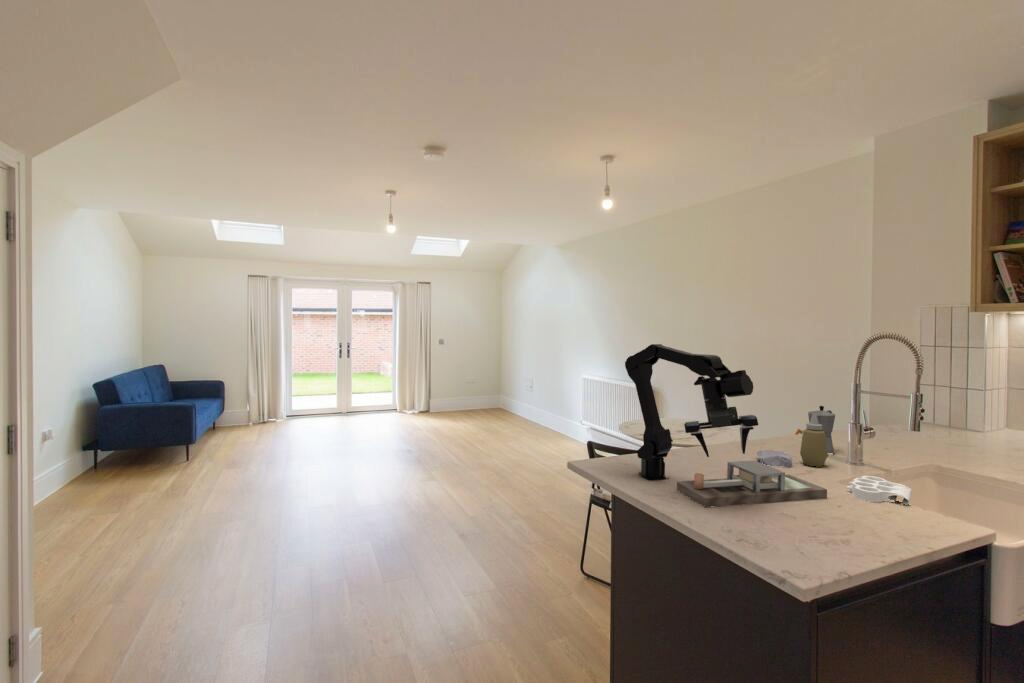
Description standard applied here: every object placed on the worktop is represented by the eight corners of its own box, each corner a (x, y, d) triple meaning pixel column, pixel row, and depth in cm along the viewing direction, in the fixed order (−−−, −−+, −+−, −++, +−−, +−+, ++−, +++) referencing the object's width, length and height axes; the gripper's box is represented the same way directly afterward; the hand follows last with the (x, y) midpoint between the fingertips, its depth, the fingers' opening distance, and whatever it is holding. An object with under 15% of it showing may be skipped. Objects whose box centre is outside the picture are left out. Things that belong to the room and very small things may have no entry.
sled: (703, 493, 130) (704, 479, 130) (686, 483, 139) (687, 470, 139) (778, 487, 135) (778, 474, 135) (757, 478, 143) (757, 466, 143)
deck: (704, 507, 128) (705, 498, 127) (676, 489, 141) (676, 481, 141) (826, 498, 135) (827, 489, 135) (788, 482, 149) (789, 474, 149)
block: (752, 489, 135) (753, 474, 135) (738, 482, 141) (739, 468, 141) (771, 487, 136) (771, 473, 136) (756, 481, 142) (757, 467, 142)
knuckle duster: (907, 511, 127) (841, 497, 137) (912, 494, 140) (851, 483, 150) (908, 498, 127) (841, 486, 137) (912, 483, 140) (851, 472, 150)
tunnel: (756, 493, 131) (756, 474, 131) (727, 479, 144) (727, 461, 143) (784, 491, 133) (785, 472, 133) (753, 477, 145) (754, 460, 145)
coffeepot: (826, 457, 178) (827, 409, 177) (799, 452, 186) (800, 405, 185) (843, 451, 187) (845, 405, 186) (817, 446, 195) (818, 402, 194)
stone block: (764, 471, 166) (795, 468, 164) (761, 458, 167) (792, 454, 165) (754, 463, 178) (783, 459, 176) (752, 450, 178) (781, 446, 176)
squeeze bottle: (826, 464, 169) (828, 413, 169) (827, 469, 162) (828, 416, 162) (800, 460, 174) (801, 411, 173) (799, 466, 167) (800, 414, 166)
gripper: (680, 403, 131) (691, 462, 129) (755, 394, 125) (767, 455, 123) (680, 403, 141) (690, 457, 139) (749, 394, 136) (760, 450, 133)
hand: (725, 455), depth 133 cm, fingers open, 9 cm apart
